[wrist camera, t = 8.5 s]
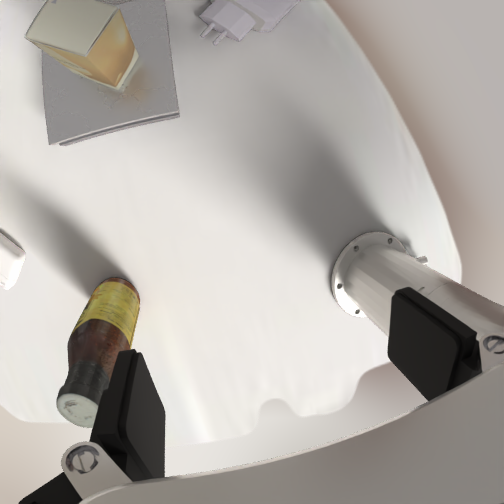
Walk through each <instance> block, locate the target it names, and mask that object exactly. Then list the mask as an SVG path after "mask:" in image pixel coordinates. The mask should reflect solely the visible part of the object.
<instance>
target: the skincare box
mask: <svg viewBox="0 0 504 504" xmlns="http://www.w3.org/2000/svg"><path fill="white" fill-rule="evenodd" d="M24 37H25V38H26V39H27V40H29V41H30V42H32V43H33V44H34V45H36V46H37V47H39V48H40V49H42V50H43V51H44V52H46V53H47V54H49V55H50V56H51V57H53V58H54V59H55V60H57V61H58V62H60V63H61V64H62V65H64V66H65V67H66V68H68V69H69V70H70V71H72V72H73V73H75V74H78V75H80V76H82V77H85V78H87V79H89V80H92V81H94V82H97V83H100V84H103V85H105V86H108V87H111V88H114V89H116V90H119V89H120V87H121V86H122V84H123V82H124V81H125V79H126V77H127V76H128V74H129V72H130V71H131V69H132V67H133V66H134V64H135V62H136V61H137V59H138V57H139V55H138V52H137V50H136V48H135V45H134V43H133V40H132V38H131V35H130V33H129V30H128V28H127V25H126V23H125V20H124V18H123V15H122V13H121V10H120V8H119V6H117V5H114V4H110V3H107V2H104V1H100V0H47V1H46V3H45V4H44V5H43V7H42V8H41V10H40V11H39V13H38V14H37V16H36V17H35V19H34V20H33V22H32V24H31V25H30V27H29V29H28V31H27V32H26V34H25V36H24Z"/></svg>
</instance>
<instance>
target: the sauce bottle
mask: <svg viewBox="0 0 504 504" xmlns="http://www.w3.org/2000/svg"><path fill="white" fill-rule="evenodd" d="M139 304H140V298H139V294H138V292H137V290H136V289H135V288H134V286H133V285H132V284H131V283H129V282H128V281H126V280H123V279H120V278H110V279H107V280H105V281H104V282H102V283H100V285H99V286H98V287H97V288H96V289H95V290H94V292H93V294H92V296H91V298H90V299H89V301H88V303H87V305H86V307H85V309H84V310H83V312H82V314H81V316H80V318H79V320H78V322H77V324H76V326H75V327H74V330H73V331H72V334H71V336H70V338H69V341H68V363H69V371H68V376H67V379H66V381H65V384H64V386H62V387H61V388H60V390H59V393H58V397H57V402H56V403H57V409H58V411H59V412H60V414H61V415H62V416H63V417H64V418H65V419H67V420H68V421H70V422H71V423H73V424H75V425H77V426H80V427H87V428H92V427H93V425H94V421H95V417H96V413H97V410H98V406H99V402H100V399H101V395H102V392H103V390H105V389H108V386H109V382H110V379H111V375H112V372H113V368H114V365H115V362H116V358H117V355H118V352H119V351H124V350H131V346H132V341H133V337H134V332H135V328H136V323H137V319H138V314H139V310H140V307H139Z"/></svg>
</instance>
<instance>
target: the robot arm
mask: <svg viewBox="0 0 504 504" xmlns="http://www.w3.org/2000/svg"><path fill="white" fill-rule="evenodd" d="M354 246H355V247H354ZM427 263H428V261H427V258H426V257H425V256H422V257H418V258H414V257H412V256H410V255H408V254H407V253H406V250H405V248H404V246H403V245H402V244H401V242H400V241H399V240H398V239H396V238H395V237H394V236H392V235H390V234H387V233H384V232H369V233H365V234H363V235H361V236H359V237H357V238H356V239H354V240H353V241H351V242H350V243H349V244H348V245H347V246H346V247H345V249H344V250H343V251H342V252H341V254H340V255H339V257H338V259H337V261H336V263H335V266H334V269H333V273H332V279H331V281H332V292H333V296H334V298H335V300H336V302H337V303H338V305H339V306H340V307H341V308H342V309H343V310H344V311H345V312H347V313H348V314H350V315H352V316H355V317H368V318H369V319H370V320H371V321H372V322H373V323H374V324H375V325H376V326H377V327H378V328H379V329H380V330H381V331H382V332H383V333H384V334H386V335H387V336H388V337H389V340H388V357H389V359H390V360H391V361H392V362H393V364H394V365H395V366H396V367H397V368H398V369H399V370H400V371H401V372H402V373H403V374H404V375H405V376H406V378H407V379H408V380H409V381H410V382H411V383H412V384H413V385H414V386H415V387H416V388H417V389H418V390H419V392H421V394H422V395H423V396H424V397H425V398H426V399H427V400H428V402H426V403H424V404H422V405H420V406H418V407H416V408H414V409H412V410H410V411H407V412H405V413H403V414H401V415H398V416H396V417H394V418H392V419H389V420H387V421H384V422H382V423H379V424H377V425H374V426H372V427H369V428H367V429H364V430H362V431H359V432H356V433H354V434H351V435H348V436H345V437H342V438H340V439H337V440H334V441H331V442H328V443H324V444H322V445H318V446H315V447H312V448H308V449H305V450H302V451H298V452H294V453H291V454H287V455H283V456H279V457H275V458H271V459H267V460H263V461H258V462H254V463H250V464H245V465H240V466H234V467H229V468H224V469H218V470H212V471H206V472H200V473H193V474H186V475H178V476H171V477H165V474H164V473H165V471H164V469H165V467H164V466H165V465H164V464H165V410H164V407H163V404H162V402H161V400H160V397H159V395H158V393H157V390H156V388H155V385H154V383H153V381H152V378H151V376H150V373H149V370H148V368H147V365H146V363H145V360H144V358H143V355H142V353H141V352H138V353H137V352H136V350H135V349H131V350H124V351H119V352H118V355H117V358H116V362H115V365H114V368H113V372H112V375H111V379H110V382H109V386H108V389H105V390H103V392H102V395H101V399H100V402H99V406H98V410H97V413H96V417H95V421H94V425H93V429H92V433H91V437H90V441H89V442H80V443H77V444H75V445H73V446H71V447H70V448H69V449H67V450H66V452H65V453H64V454H63V457H62V460H61V466H62V469H63V471H64V472H62V473H61V474H60V475H58V476H57V477H55V478H54V479H52V480H51V481H49V482H48V483H46V484H45V485H43V486H42V487H40V488H39V489H37V490H36V491H34V492H33V493H31V494H29V495H28V496H26V497H25V498H23V499H22V500H21V501H20V502H19V504H504V306H502V305H500V304H497V303H495V302H493V301H491V300H489V299H487V298H485V297H483V296H481V295H479V294H477V293H475V292H474V291H472V290H470V289H468V288H466V287H465V286H463V285H461V284H459V283H457V282H455V281H453V280H451V279H450V278H448V277H446V276H444V275H442V274H440V273H438V272H437V271H435V270H433V269H431V268H429V267H427V266H425V265H427ZM337 284H338V285H337Z"/></svg>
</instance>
